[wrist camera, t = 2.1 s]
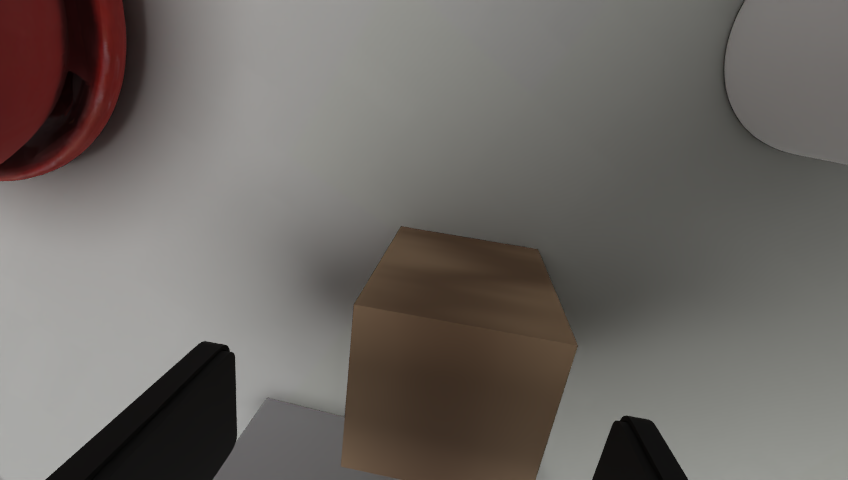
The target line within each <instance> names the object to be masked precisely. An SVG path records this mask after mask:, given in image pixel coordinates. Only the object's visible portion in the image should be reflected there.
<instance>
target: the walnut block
mask: <svg viewBox="0 0 848 480" xmlns="http://www.w3.org/2000/svg"><path fill="white" fill-rule="evenodd" d="M577 347H578V345H577V342H576V340H575V337H574V335H573V333H572V330H571V328H570V325H569V323H568V320H567V318H566V316H565V313H564V311H563V308H562V306H561V304H560V301H559V299H558V296H557V294H556V292H555V289H554V287H553V284H552V282H551V280H550V277H549V275H548V272H547V270H546V267H545V265H544V263H543V260H542V258H541V255H540V253H539V251H538V249H533V248H527V247H521V246H515V245H509V244H503V243H497V242H492V241H486V240H480V239H474V238H468V237H462V236H456V235H450V234H444V233H438V232H432V231H426V230H420V229H414V228H408V227H402V226H401V227H400V229H399V231H398V232H397V234H396V236H395V237H394V239H393V241H392V242H391V244H390V246H389V247H388V249H387V250H386V252H385V254H384V255H383V257H382V259H381V260H380V262H379V264H378V265H377V267H376V269H375V270H374V272H373V274H372V275H371V277H370V279H369V280H368V282H367V284H366V285H365V287H364V288H363V290H362V292H361V293H360V295H359V297H358V298H357V300H356V302H355V303H354V308H353V321H352V333H351V346H350V358H349V370H348V383H347V395H346V408H345V420H344V432H343V445H342V457H341V467H344V468H349V469H354V470H358V471H363V472H368V473H372V474H377V475H382V476H386V477H391V478H396V479H400V480H535V479H536V476H537V473H538V470H539V467H540V464H541V461H542V457H543V454H544V451H545V448H546V445H547V442H548V438H549V435H550V432H551V429H552V426H553V423H554V419H555V416H556V413H557V410H558V407H559V404H560V401H561V397H562V394H563V391H564V388H565V385H566V382H567V378H568V375H569V372H570V369H571V366H572V363H573V359H574V356H575V353H576V350H577Z"/></svg>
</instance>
